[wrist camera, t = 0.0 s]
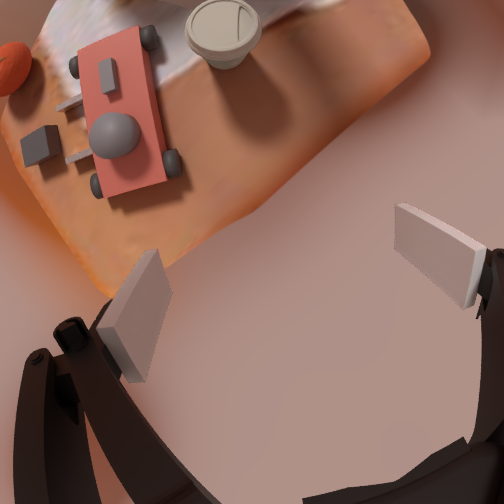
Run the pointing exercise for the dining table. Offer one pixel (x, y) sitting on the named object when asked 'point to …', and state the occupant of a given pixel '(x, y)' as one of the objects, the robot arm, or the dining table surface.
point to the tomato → (13, 66)
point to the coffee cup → (223, 32)
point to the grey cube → (41, 145)
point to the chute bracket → (63, 108)
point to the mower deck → (123, 113)
